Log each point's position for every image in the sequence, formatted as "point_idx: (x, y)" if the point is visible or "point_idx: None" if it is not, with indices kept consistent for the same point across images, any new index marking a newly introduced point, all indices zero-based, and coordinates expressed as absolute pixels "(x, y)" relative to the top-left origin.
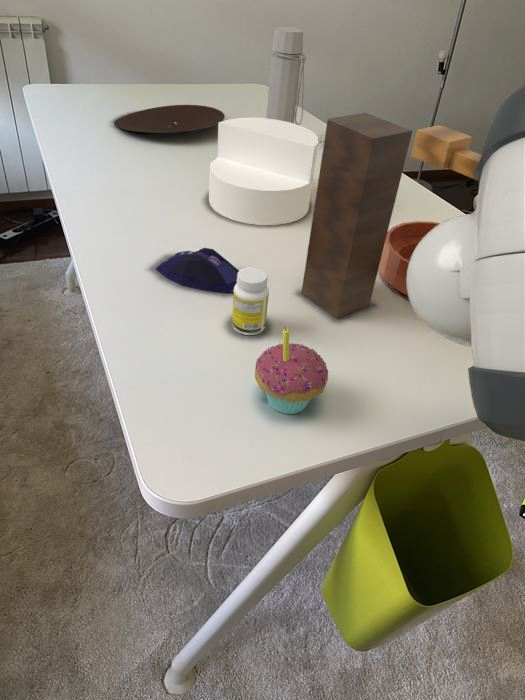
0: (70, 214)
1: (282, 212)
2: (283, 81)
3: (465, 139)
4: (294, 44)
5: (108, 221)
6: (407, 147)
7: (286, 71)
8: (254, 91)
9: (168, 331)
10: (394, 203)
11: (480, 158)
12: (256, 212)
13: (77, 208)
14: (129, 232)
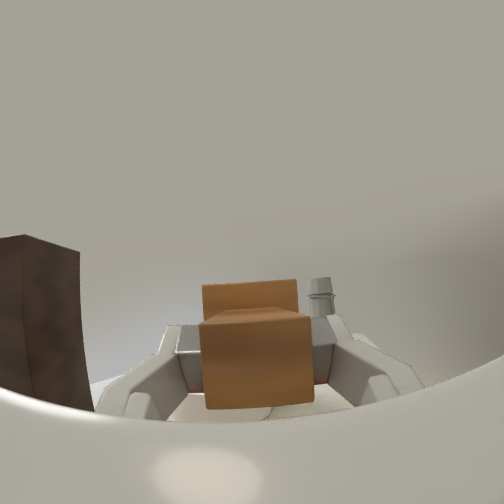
0: (94, 384)
1: (196, 418)
2: (315, 315)
3: (266, 283)
4: (319, 286)
5: (99, 392)
6: (19, 263)
7: (316, 307)
8: (352, 336)
9: None
10: (29, 374)
11: (248, 311)
12: (173, 412)
13: (104, 383)
14: (92, 399)
